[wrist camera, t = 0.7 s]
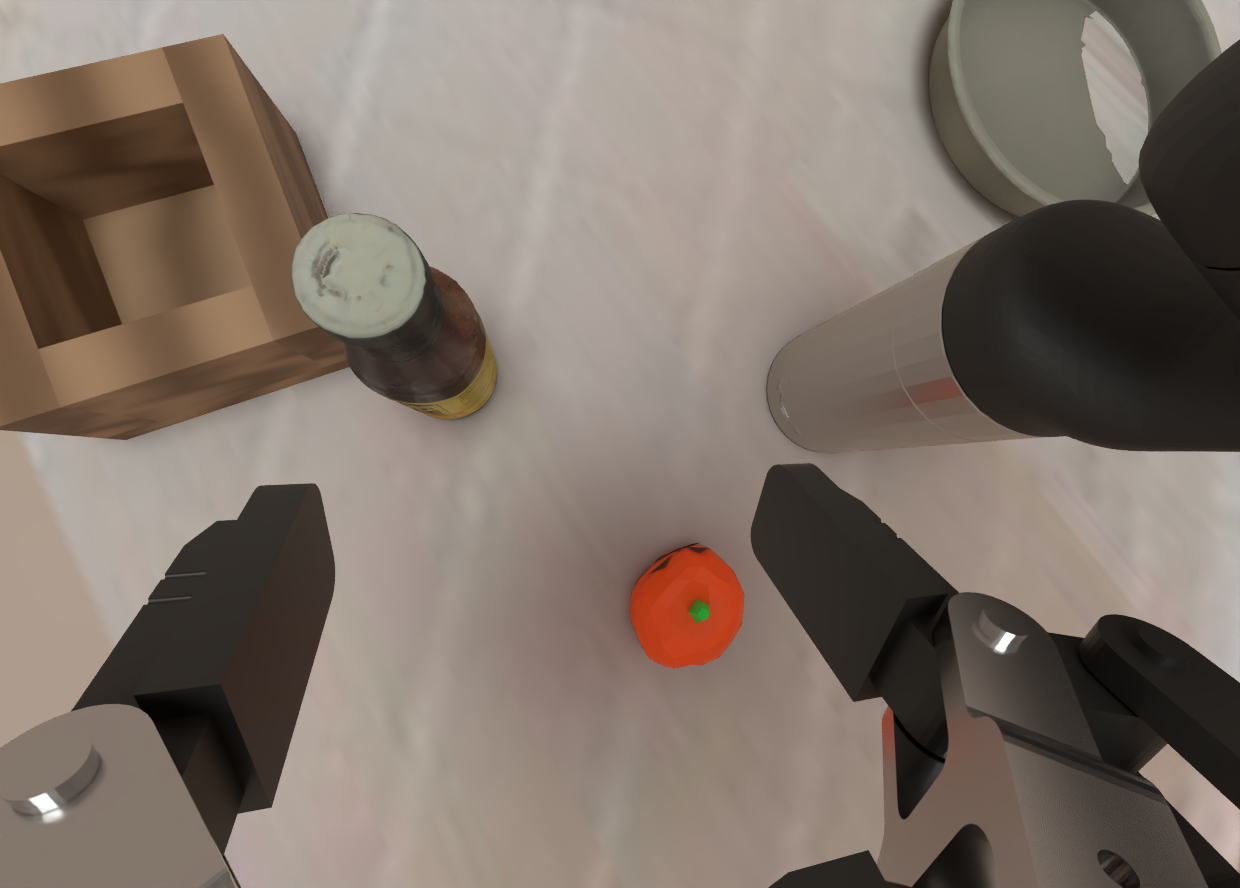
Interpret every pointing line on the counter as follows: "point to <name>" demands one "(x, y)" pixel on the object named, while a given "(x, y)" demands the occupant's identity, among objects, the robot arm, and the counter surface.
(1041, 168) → the cake pan
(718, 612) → the pumpkin
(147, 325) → the bottle block
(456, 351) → the sauce bottle
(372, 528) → the counter surface
